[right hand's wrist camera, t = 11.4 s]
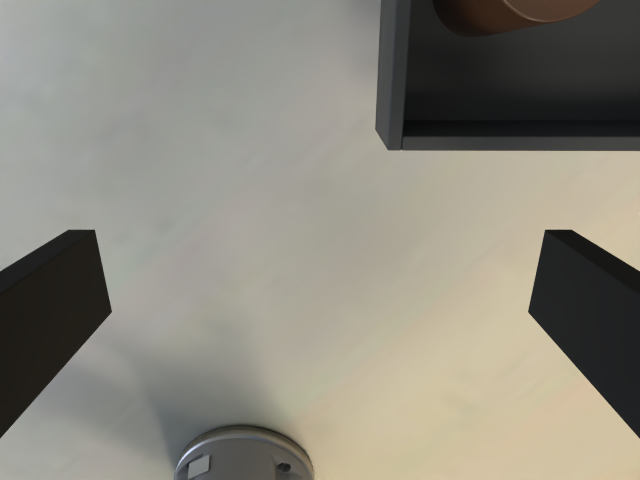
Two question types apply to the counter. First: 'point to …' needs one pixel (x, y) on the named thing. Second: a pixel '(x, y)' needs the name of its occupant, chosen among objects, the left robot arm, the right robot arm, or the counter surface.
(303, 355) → the counter surface
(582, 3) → the walnut peg
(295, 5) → the counter surface
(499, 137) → the bin
